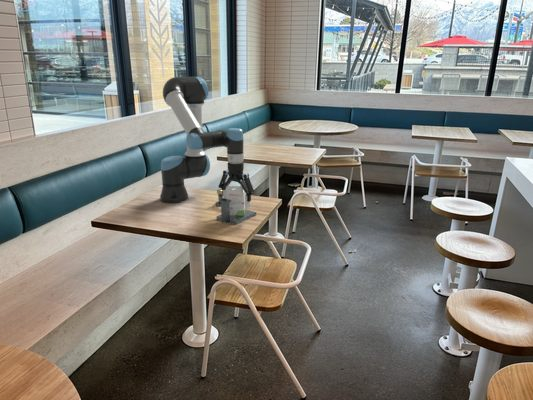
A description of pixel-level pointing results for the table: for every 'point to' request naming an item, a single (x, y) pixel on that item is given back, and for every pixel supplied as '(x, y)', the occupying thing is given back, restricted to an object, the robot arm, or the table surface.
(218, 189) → the lever
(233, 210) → the ink box
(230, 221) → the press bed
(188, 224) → the table surface
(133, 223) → the table surface
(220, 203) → the lever post
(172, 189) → the robot arm
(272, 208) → the table surface
